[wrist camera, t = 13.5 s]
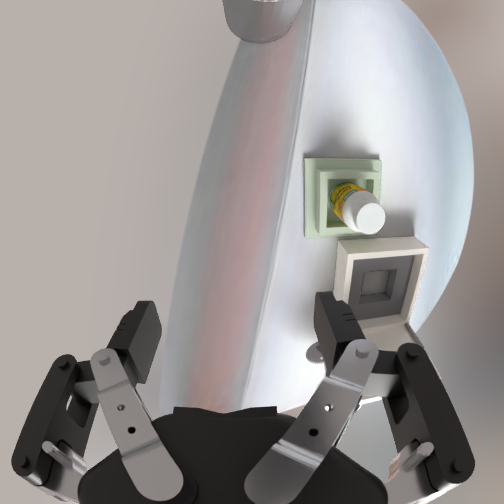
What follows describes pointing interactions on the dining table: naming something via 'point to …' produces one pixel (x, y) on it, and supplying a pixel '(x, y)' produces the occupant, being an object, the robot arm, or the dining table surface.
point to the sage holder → (321, 184)
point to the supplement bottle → (357, 208)
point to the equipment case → (397, 291)
